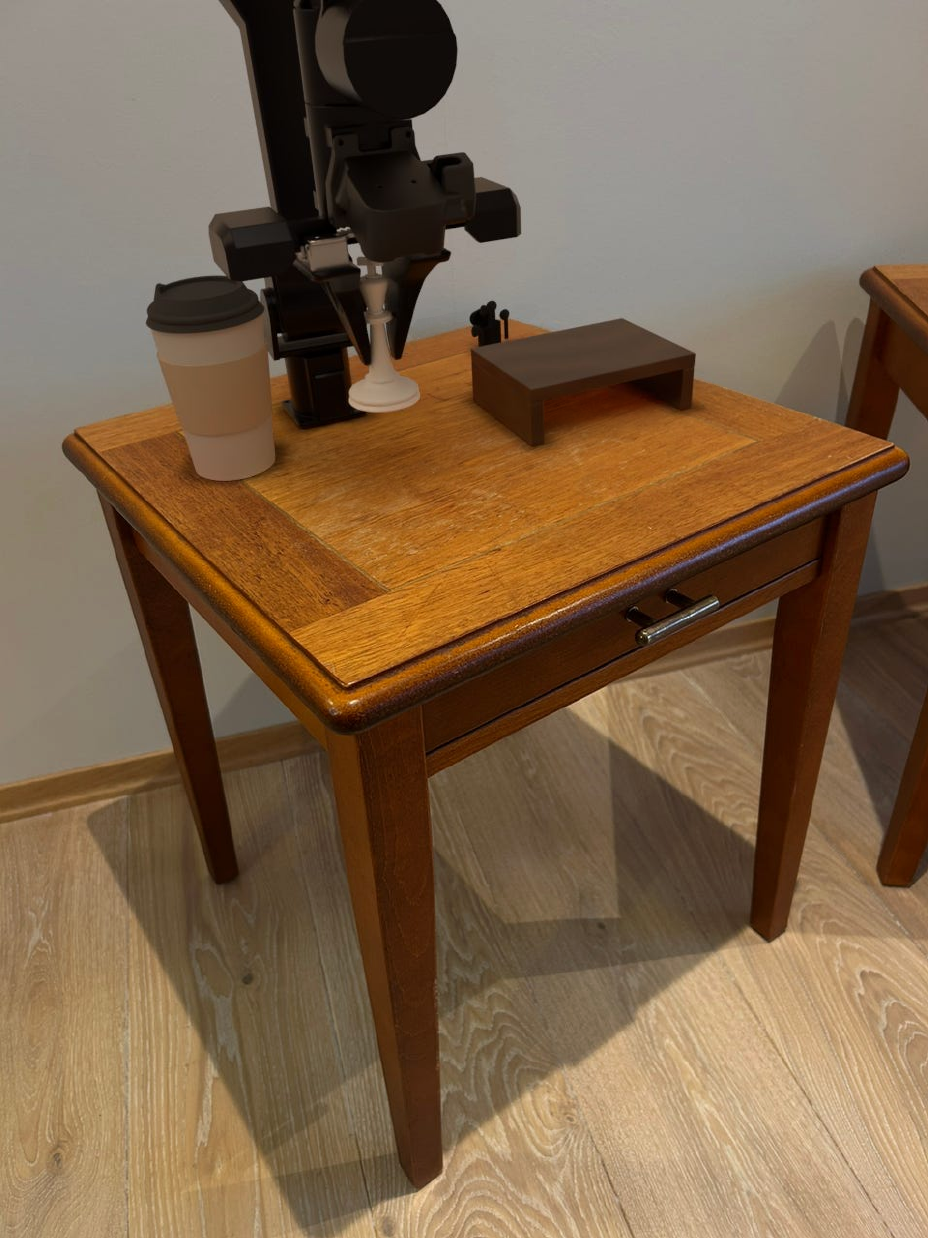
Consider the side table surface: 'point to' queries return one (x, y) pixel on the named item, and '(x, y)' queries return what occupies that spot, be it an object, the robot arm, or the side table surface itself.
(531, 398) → the shelf
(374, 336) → the chess piece
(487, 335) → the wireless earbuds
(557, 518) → the side table surface
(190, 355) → the coffee cup
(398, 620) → the side table surface
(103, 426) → the side table surface
